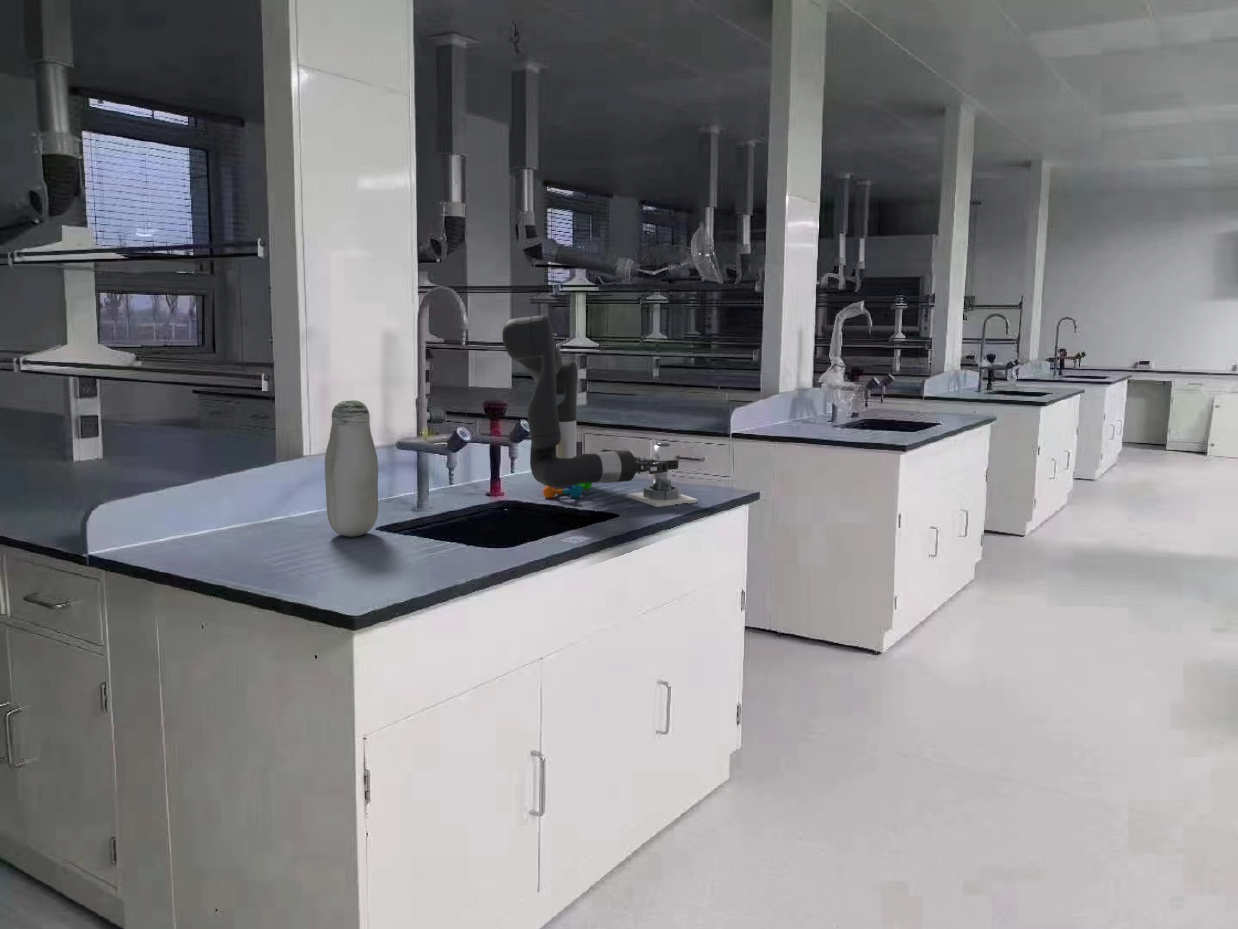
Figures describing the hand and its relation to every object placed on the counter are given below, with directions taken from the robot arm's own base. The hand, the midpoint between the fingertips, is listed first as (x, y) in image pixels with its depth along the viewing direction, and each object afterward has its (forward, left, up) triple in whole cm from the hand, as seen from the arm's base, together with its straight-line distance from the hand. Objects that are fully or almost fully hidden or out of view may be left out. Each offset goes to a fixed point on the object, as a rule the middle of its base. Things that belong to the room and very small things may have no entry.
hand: (671, 462), depth 243 cm
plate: (0, -3, -9) cm, 10 cm away
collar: (0, -3, -9) cm, 10 cm away
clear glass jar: (0, -3, -6) cm, 7 cm away
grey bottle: (+4, -81, -9) cm, 81 cm away
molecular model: (-15, -22, -9) cm, 28 cm away
